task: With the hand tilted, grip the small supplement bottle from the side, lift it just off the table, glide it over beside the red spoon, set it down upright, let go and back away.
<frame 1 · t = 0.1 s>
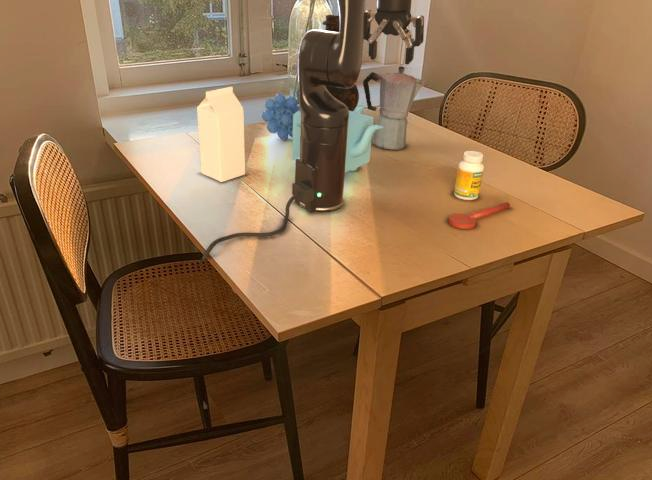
hand: (390, 61, 137), 22 cm above the table, tool pointing down, fingers open, 8 cm apart
teakettle: (333, 170, 138), on the table
moka pot: (387, 145, 154), on the table
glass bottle: (326, 118, 173), on the table
milk carton: (223, 175, 133), on the table
red spoon: (462, 223, 116), on the table
grapes: (284, 141, 154), on the table
supplement bottle: (465, 196, 128), on the table
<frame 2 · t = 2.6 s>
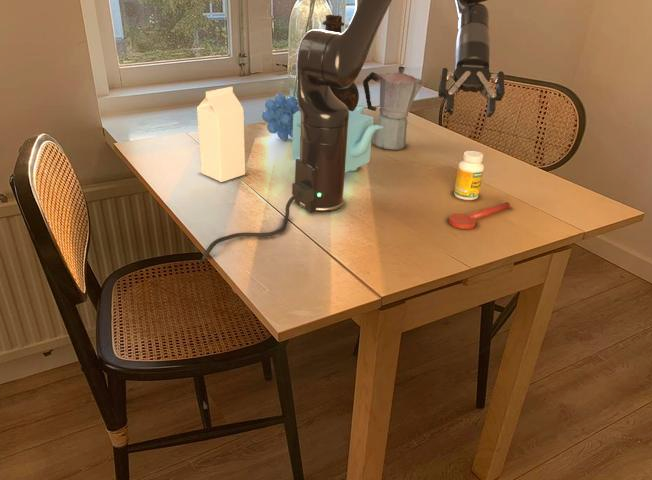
hand: (470, 114, 130), 15 cm above the table, tool tilted 45°, fingers open, 8 cm apart
nothing on the table moved.
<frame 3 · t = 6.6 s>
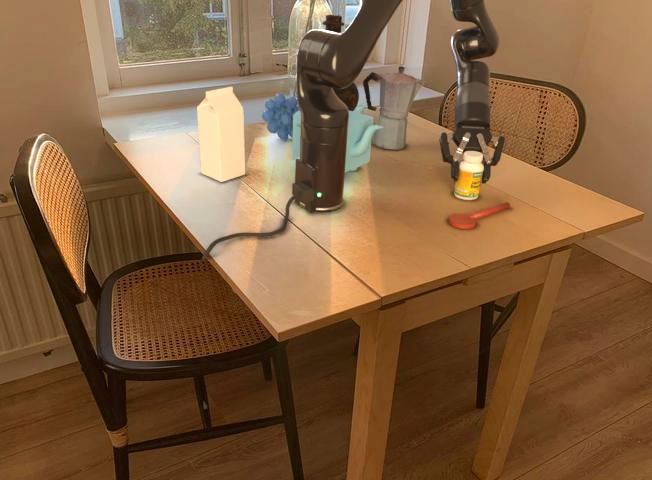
hand: (470, 180, 124), 4 cm above the table, tool tilted 45°, fingers closed on supplement bottle, 5 cm apart
supplement bottle: (465, 196, 128), on the table, touching gripper
everything else where it was.
when the fingers open (4 cm above the table, at t = 12.5 s): supplement bottle stays where it is, on the table.
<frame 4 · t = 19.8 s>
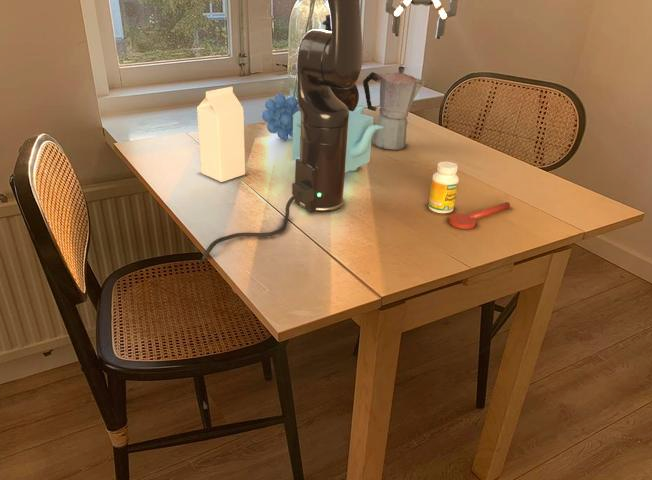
hand: (417, 37, 121), 30 cm above the table, tool pointing down, fingers open, 8 cm apart
supplement bottle: (440, 209, 122), on the table
everything else where it was.
at the end: supplement bottle 7.2 cm from the red spoon (horizontally); supplement bottle tilted 0°; the gripper is holding nothing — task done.
